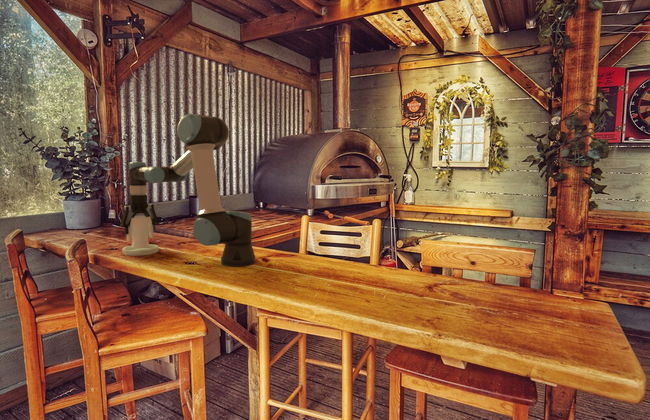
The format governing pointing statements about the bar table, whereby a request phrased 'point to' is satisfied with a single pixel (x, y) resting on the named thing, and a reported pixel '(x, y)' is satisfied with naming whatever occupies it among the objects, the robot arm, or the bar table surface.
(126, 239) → the sugar bowl
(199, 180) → the robot arm
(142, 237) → the cup
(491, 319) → the bar table surface
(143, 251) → the dish
